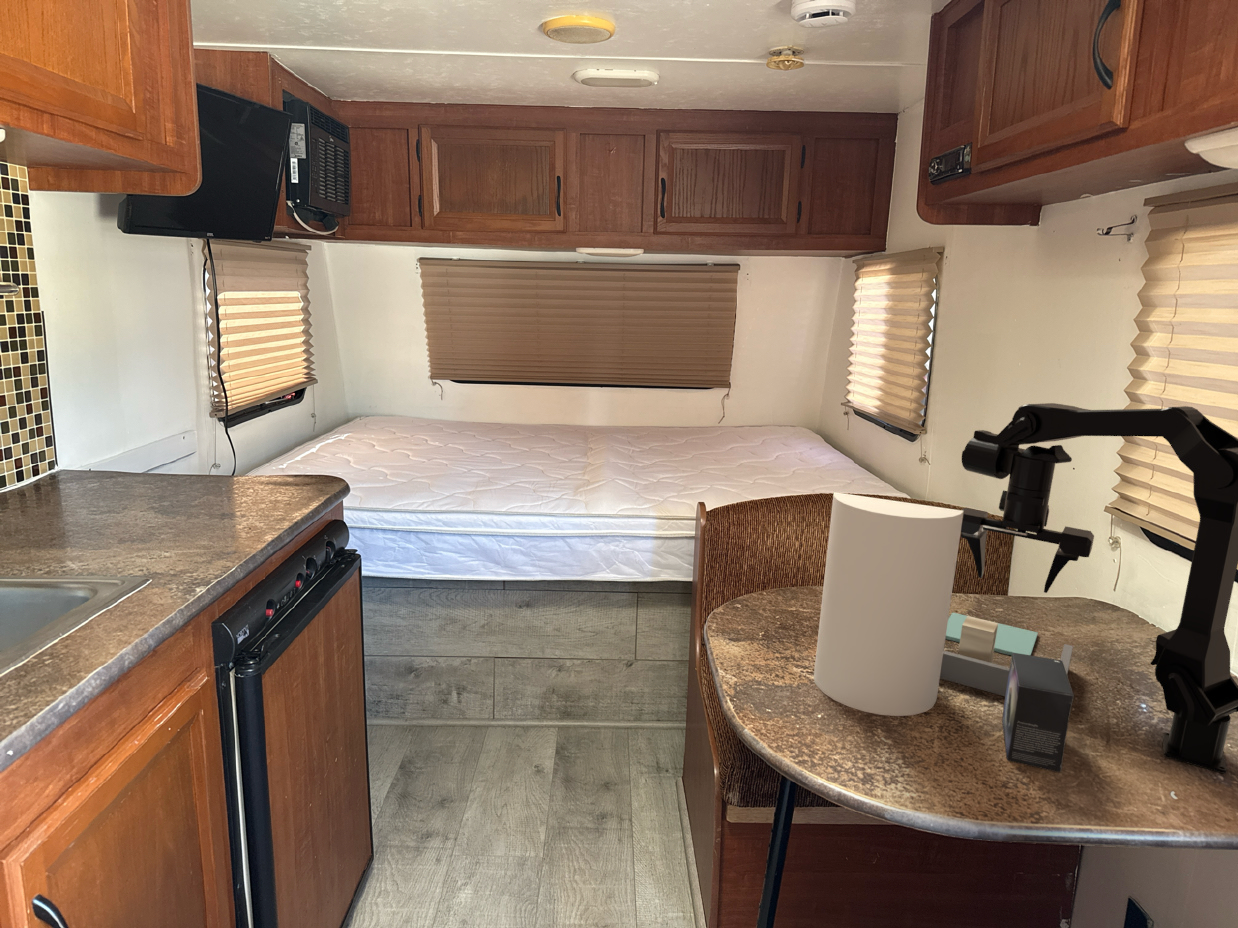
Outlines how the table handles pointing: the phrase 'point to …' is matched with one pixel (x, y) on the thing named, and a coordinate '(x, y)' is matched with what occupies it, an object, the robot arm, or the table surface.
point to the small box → (1036, 711)
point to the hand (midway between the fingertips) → (1012, 584)
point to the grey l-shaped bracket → (983, 671)
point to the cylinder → (886, 603)
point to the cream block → (978, 639)
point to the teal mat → (997, 636)
